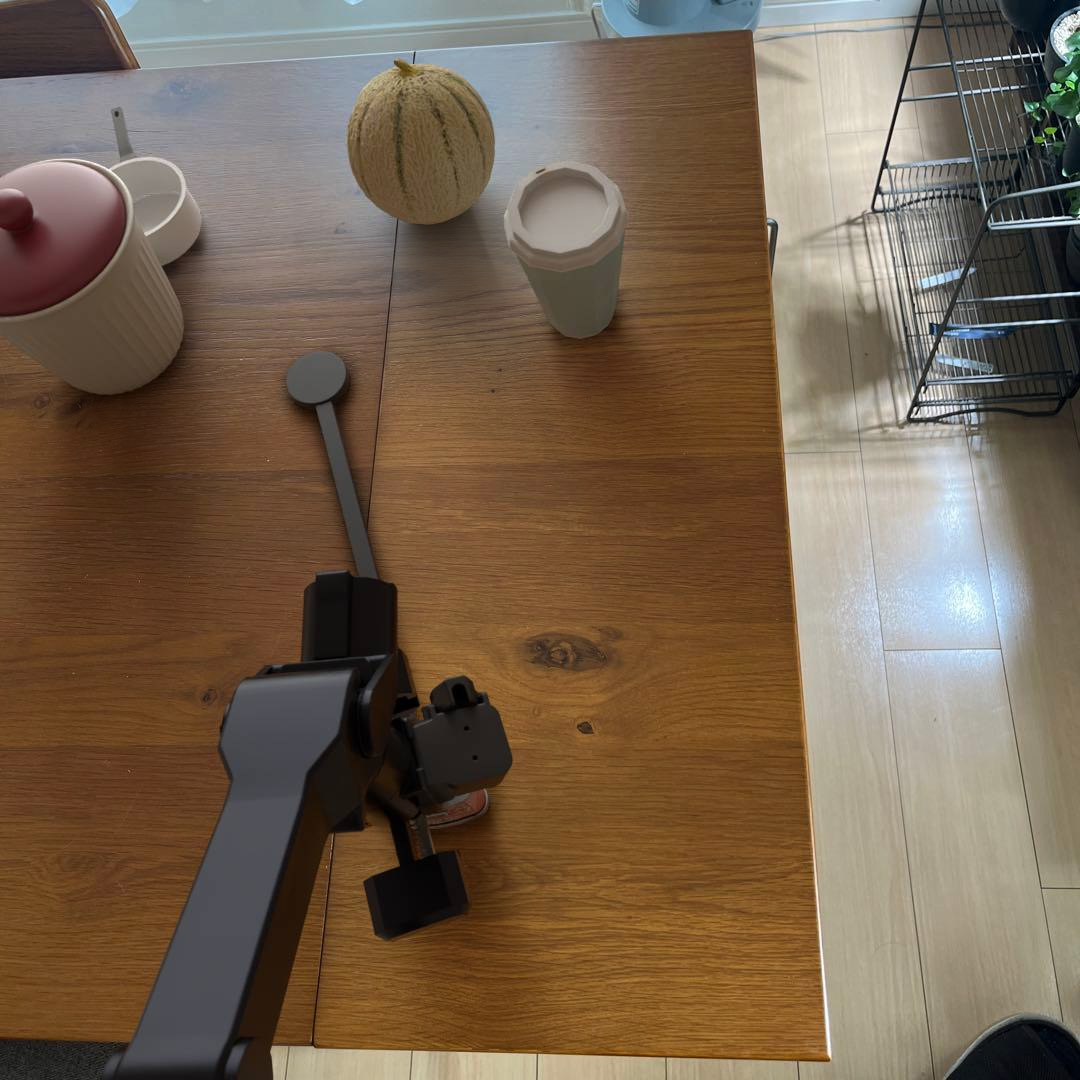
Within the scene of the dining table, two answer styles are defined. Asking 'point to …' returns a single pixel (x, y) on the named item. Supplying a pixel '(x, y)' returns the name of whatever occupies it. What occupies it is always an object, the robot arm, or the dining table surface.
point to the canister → (83, 278)
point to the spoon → (334, 443)
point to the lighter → (459, 810)
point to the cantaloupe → (421, 143)
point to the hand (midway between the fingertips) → (420, 805)
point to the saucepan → (157, 198)
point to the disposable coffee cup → (569, 243)
